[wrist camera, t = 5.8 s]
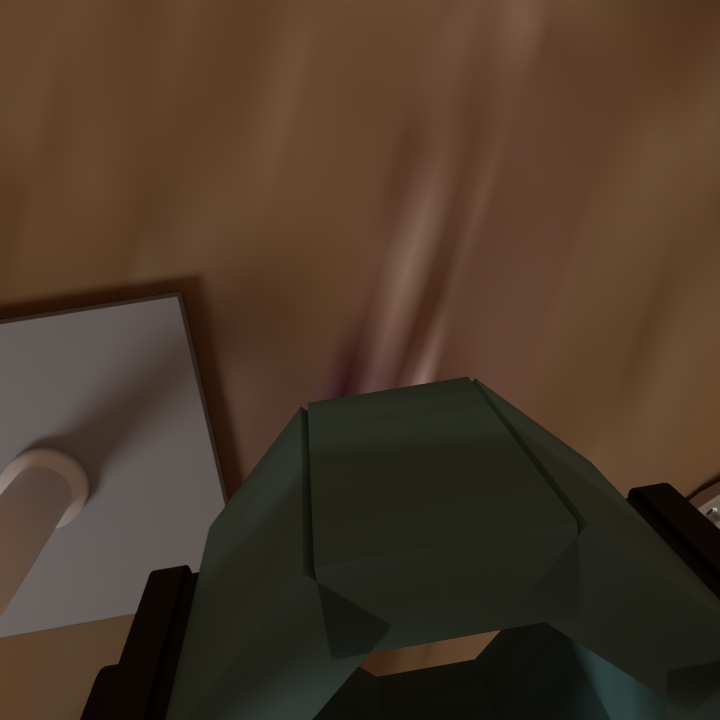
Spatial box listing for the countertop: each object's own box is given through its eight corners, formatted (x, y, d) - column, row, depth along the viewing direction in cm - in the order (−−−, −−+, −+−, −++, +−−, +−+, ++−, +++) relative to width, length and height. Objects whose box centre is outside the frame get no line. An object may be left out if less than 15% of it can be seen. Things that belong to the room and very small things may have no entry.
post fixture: (181, 291, 28) (126, 367, 18) (246, 580, 32) (228, 761, 23) (-171, 346, 27) (-417, 455, 18) (-57, 634, 32) (-205, 844, 22)
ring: (589, 356, 11) (774, 488, 7) (602, 684, 13) (751, 945, 9) (182, 423, 11) (105, 604, 7) (258, 747, 13) (239, 1048, 9)
